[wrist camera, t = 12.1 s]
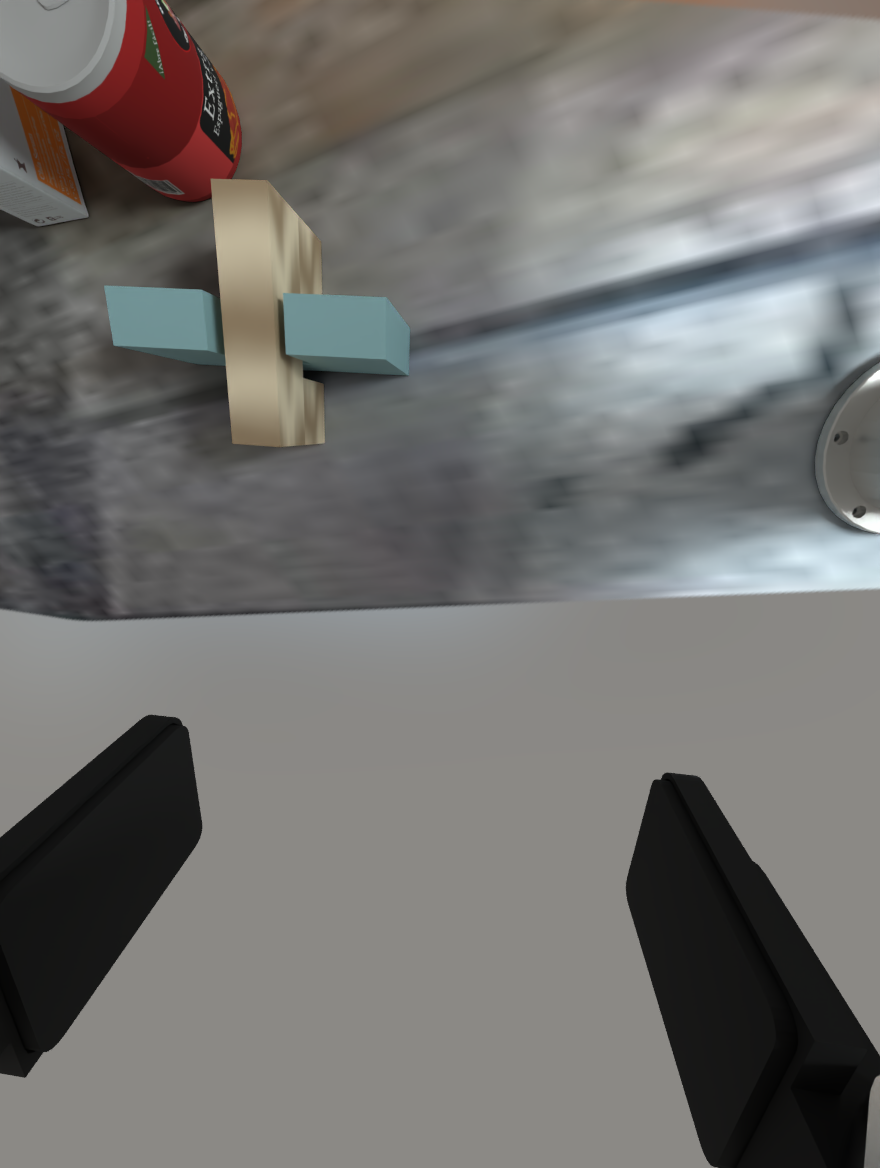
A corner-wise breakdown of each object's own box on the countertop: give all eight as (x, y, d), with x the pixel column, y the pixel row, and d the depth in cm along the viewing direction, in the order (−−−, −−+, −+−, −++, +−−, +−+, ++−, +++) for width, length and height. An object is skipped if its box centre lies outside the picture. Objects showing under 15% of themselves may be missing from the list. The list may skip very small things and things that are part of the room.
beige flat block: (278, 240, 31) (210, 178, 23) (321, 241, 31) (267, 180, 23) (286, 440, 35) (232, 443, 28) (324, 443, 35) (280, 447, 27)
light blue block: (410, 328, 32) (386, 297, 24) (408, 375, 33) (385, 359, 25) (191, 318, 33) (104, 285, 25) (196, 364, 34) (113, 345, 26)
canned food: (268, 165, 30) (150, 21, 19) (173, 232, 31) (18, 134, 21) (202, 26, 28) (32, -217, 17) (105, 105, 29) (-103, -71, 19)
